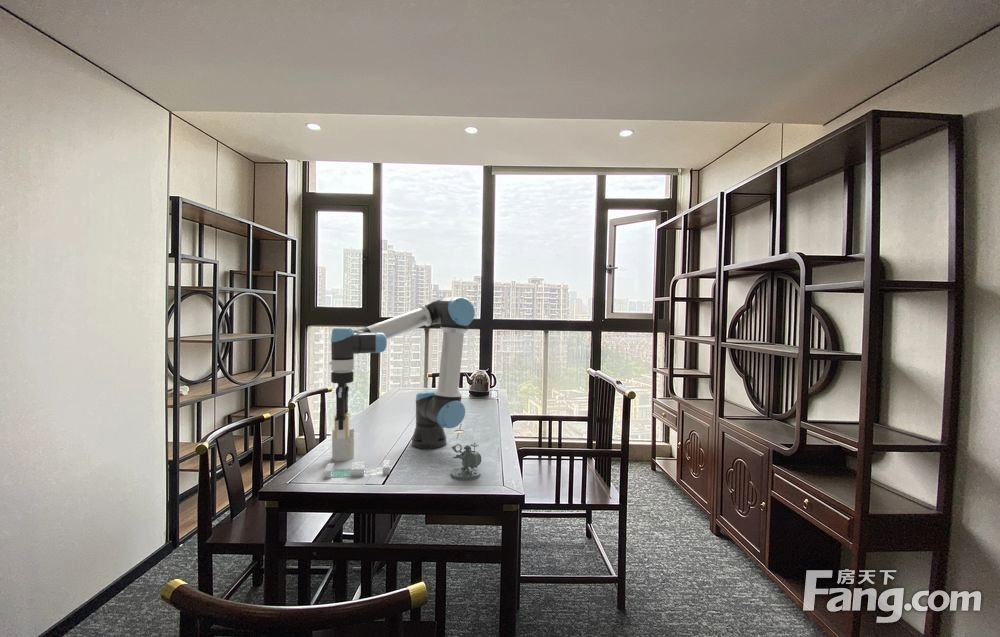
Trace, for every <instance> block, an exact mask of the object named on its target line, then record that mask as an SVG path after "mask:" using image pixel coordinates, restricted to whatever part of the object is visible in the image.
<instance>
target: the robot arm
mask: <svg viewBox="0 0 1000 637" xmlns="http://www.w3.org/2000/svg"><path fill="white" fill-rule="evenodd" d="M475 314H476V311H475V307H474V305H473V303H472V302H471V301H470V300H469V299H468V298H466V297H463V296H443V297H439V298H435V299H434V300H431V301H429V302H427V303H424V304H421V305H419V307H418V308H417V309H413V310H411V311H408V312H406V313H402V314H399V315H397V316H394V317H392V318H388V319H386V320H383V321H380V322H376V323H374V324H371V325H369V326H366V327H363V328H360V329H357V330H356V329H355V330H354V328H353V327H334V328H333V329H332V330H331V334H330V335H331V337H330V338H331V339H330V344H331V345H330V347H331V348H330V349H331V361H330V362H329V365H331V367H330V368H331V373H330V381H331V383H332V384H337V386H336V388H335V396H336V397H335V398H336V400H335V401H336V402H335V404H336V405H335V406H336V413H335V415H336V419H335V418H334V422H335V421H337V439H345V413H349V409H348V406H349V403H348V402H349V391H350V390H349V389H350V387H349V385H348V384H350V383H353V382H354V373H355V372H354V371H353V370H354V369H355V368H354V367H355V361H354V360H355V359H354V358H355V356H354V355H356V354H357V355H358V354H378V353H383V352H385V351H386V348H387V345H388V344H387V343H388V342H387V340H390V339H392V338H394V337H397V336H399V335H403V334H405V333H407V332H409V331H414V330H415V329H418V328H421V327H423V326H425V327H430V326H433V325H440V326H439V327H440V329H441V331H442V333H443V334H442V344H441V352H440V354H441V355H440V363H439V374H438V385H437V389H436V390H429V391H427V390H426V391H420V392H418V393H417V394H416V397H415V429H414V432H413V435H412V437H411V446H413V447H414V448H418V449H425V450H426V449H429V450H430V449H436V448H437V449H438V448H441V447H444V446H445V445H447V435H446V433H445V428H446V429H455V428H457V427H459V425H460V424H462V422H463V420H464V419H465V416H466V407H465V405H464V403H463V402H462V394H461V392H460V391H459V389H460V379H461V368H462V367H461V366H462V358H463V346H464V337H465V336H464V335H465V333H467V331H468V330H469V325H470V324H471V323H472V322H473V321H474V318H475Z"/></svg>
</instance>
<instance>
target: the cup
mask: <svg viewBox="0 0 1000 637" xmlns="http://www.w3.org/2000/svg"><path fill="white" fill-rule="evenodd" d="M331 430H332V431H331V436H332V437H331V440H332V441H331V442H332V443H331V448H332V449H331V459H332V460H333V461H335V462H345V461H350V460H352V459H354V458H355V427H354V426H353V425H349V437H348V439H334V427H333V428H332V429H331Z"/></svg>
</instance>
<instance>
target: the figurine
mask: <svg viewBox="0 0 1000 637" xmlns="http://www.w3.org/2000/svg"><path fill="white" fill-rule="evenodd" d="M457 446H459V447H460V449H459V450H457V448H456V447H457ZM479 446H480V445H479V444H478V443H476V442H474V443H471V444H470V445H468V444H467V445H464V447H462V444H459V443H457V444H455V445H452V446H451V447H450V448H451V449H452V450H453V451H454V452H455V453H457V454H456V455H455V456H453V457H452V458H453V459H459V460H461V465H462V466H461V467H455V468H454V469H452V470H451V472H450V476H451V478H452V479H454V480H457V481H473V480H476V479H479V478H480V477H481V470H480V469H479V468H478V466H479V465H481V463H482V456H481V454H480V453H479V452H478V451H476V450H475V449H476V447H479ZM472 447H473V450H472ZM462 450H463V451H462ZM458 453H460V454H458Z"/></svg>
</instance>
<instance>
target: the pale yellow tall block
mask: <svg viewBox="0 0 1000 637" xmlns="http://www.w3.org/2000/svg"><path fill="white" fill-rule="evenodd" d="M335 419H336V414H335V415H334V427H333V428H334V439H337V421H335ZM349 426H350V412H348V413H345V439H348V437H349Z"/></svg>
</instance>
